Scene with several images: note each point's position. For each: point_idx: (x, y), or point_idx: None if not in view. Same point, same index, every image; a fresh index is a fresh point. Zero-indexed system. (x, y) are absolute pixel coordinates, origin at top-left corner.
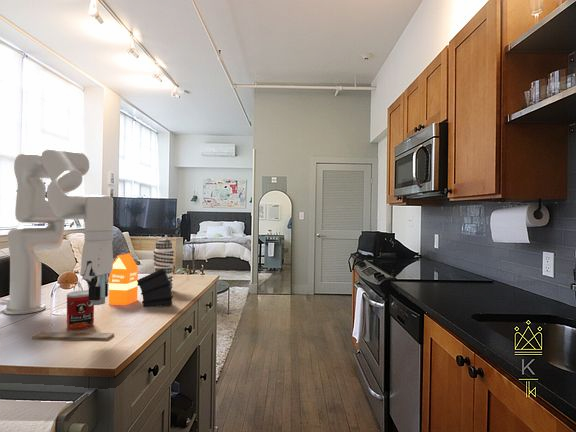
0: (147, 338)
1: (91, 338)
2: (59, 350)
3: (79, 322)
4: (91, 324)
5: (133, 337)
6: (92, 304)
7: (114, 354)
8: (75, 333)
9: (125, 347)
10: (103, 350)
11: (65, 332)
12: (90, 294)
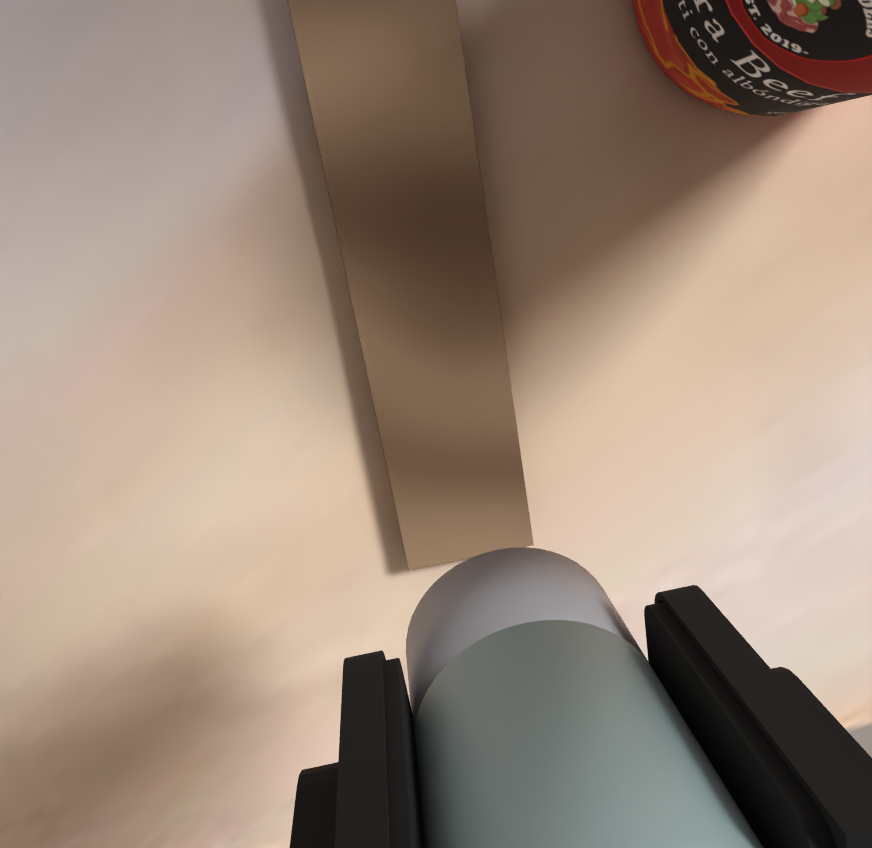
0: None
1: (380, 427)
2: (65, 338)
3: (676, 37)
4: (774, 114)
5: None
6: (416, 610)
7: (161, 786)
8: (448, 176)
9: None
10: (200, 673)
11: (452, 24)
12: (294, 828)
